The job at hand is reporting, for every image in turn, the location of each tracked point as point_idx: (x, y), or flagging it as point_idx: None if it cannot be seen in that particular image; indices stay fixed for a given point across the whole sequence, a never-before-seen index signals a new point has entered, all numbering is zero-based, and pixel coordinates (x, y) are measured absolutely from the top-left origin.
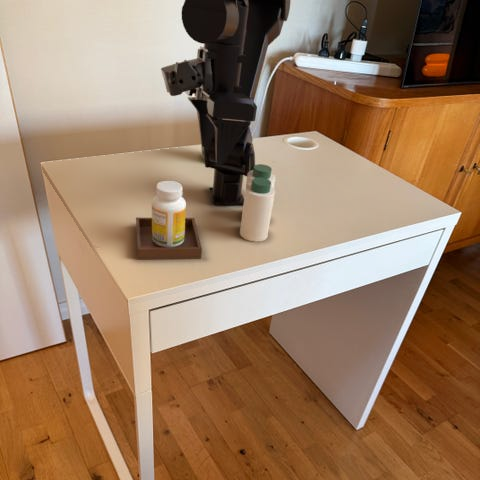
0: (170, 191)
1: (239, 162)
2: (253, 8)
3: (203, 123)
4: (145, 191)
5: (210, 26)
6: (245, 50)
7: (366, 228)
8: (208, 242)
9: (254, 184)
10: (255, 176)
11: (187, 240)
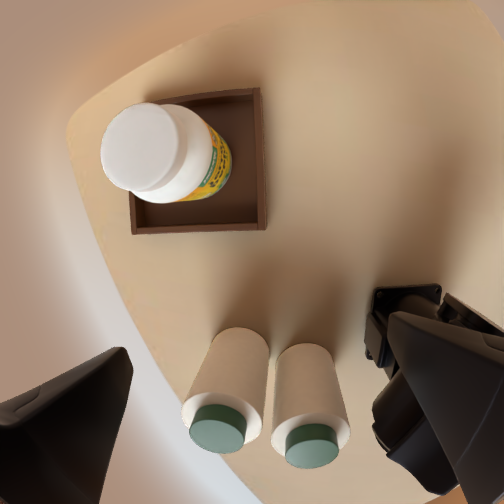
0: (102, 152)
1: (373, 406)
2: None
3: (458, 369)
4: (431, 131)
5: None
6: None
7: (266, 489)
8: (201, 253)
9: (200, 418)
10: (298, 428)
11: (196, 206)
